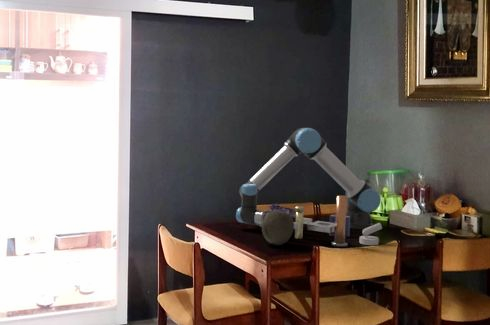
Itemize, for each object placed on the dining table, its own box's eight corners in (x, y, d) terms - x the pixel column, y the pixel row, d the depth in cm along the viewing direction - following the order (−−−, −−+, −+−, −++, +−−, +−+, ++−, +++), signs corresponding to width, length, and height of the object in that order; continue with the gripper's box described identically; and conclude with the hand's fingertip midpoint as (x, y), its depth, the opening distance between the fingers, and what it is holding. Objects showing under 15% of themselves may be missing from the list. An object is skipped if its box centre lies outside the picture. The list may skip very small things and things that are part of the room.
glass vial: (302, 236, 280) (303, 206, 279) (304, 238, 276) (305, 207, 275) (293, 236, 280) (294, 206, 279) (295, 238, 276) (296, 207, 274)
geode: (259, 219, 324) (261, 201, 324) (276, 220, 331) (278, 202, 331) (282, 224, 307) (284, 205, 308) (299, 225, 314) (301, 206, 314)
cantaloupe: (295, 248, 256) (296, 213, 255) (262, 247, 255) (264, 213, 254) (290, 241, 270) (291, 208, 269) (259, 240, 269) (260, 208, 268)
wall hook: (385, 224, 267) (363, 224, 266) (384, 245, 268) (362, 245, 267) (379, 220, 275) (358, 220, 275) (378, 241, 276) (357, 240, 275)
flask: (349, 236, 286) (350, 212, 285) (349, 237, 283) (350, 213, 282) (329, 234, 289) (330, 210, 288) (328, 235, 286) (329, 211, 285)
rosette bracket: (306, 242, 268) (308, 194, 266) (317, 238, 277) (319, 192, 275) (341, 248, 259) (344, 198, 257) (351, 244, 268) (353, 195, 266)
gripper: (278, 222, 298) (316, 227, 287) (252, 230, 277) (292, 236, 265) (278, 207, 297) (317, 212, 286) (252, 214, 276) (293, 219, 265)
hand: (305, 223), depth 276 cm, fingers open, 13 cm apart
